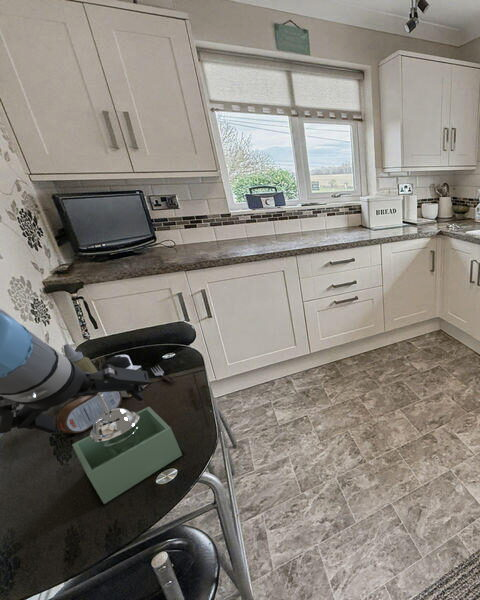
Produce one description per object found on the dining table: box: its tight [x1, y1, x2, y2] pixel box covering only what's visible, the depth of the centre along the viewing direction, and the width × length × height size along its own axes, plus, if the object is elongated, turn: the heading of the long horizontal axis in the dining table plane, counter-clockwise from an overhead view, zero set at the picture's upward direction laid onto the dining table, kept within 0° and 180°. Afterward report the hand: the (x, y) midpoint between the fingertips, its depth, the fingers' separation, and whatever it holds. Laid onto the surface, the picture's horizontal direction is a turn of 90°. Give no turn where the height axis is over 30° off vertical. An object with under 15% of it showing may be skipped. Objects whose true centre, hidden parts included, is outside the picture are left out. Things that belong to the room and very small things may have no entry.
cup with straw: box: [89, 392, 141, 458], centre depth 71 cm, size 8×9×20 cm
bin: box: [71, 406, 183, 505], centre depth 74 cm, size 15×15×8 cm
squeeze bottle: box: [63, 343, 99, 399], centre depth 102 cm, size 8×8×18 cm
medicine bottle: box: [103, 354, 148, 398], centre depth 103 cm, size 7×7×12 cm
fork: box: [151, 365, 174, 385], centre depth 110 cm, size 3×16×2 cm, turn 53°
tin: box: [56, 391, 123, 434], centre depth 90 cm, size 15×3×8 cm, turn 168°
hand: (98, 409), depth 65 cm, fingers open, 13 cm apart
